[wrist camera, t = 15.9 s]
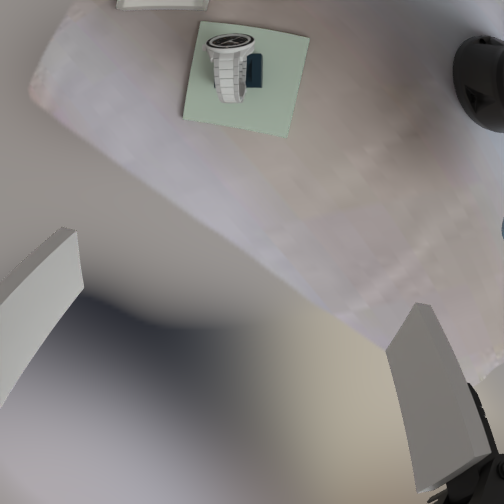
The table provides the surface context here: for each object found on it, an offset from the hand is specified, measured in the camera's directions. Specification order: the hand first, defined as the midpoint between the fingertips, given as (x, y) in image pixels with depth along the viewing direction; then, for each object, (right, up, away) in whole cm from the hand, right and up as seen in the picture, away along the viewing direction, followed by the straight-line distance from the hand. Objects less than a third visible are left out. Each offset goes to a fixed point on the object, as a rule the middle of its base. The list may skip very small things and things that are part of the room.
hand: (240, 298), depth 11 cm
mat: (0, +24, +24) cm, 34 cm away
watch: (-1, +24, +23) cm, 34 cm away
